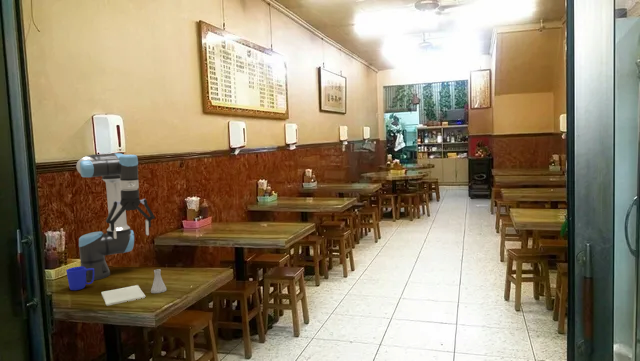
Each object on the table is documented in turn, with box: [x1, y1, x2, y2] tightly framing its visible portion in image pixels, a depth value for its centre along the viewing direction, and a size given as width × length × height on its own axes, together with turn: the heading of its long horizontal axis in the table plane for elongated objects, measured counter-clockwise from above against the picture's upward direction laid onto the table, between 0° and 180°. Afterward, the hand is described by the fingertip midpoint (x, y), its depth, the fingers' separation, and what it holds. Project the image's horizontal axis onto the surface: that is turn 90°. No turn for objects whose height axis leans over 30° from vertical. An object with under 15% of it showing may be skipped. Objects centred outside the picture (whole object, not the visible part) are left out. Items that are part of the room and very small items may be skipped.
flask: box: [150, 268, 168, 294], centre depth 213 cm, size 7×7×10 cm
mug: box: [66, 266, 95, 291], centre depth 224 cm, size 8×12×10 cm
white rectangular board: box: [101, 284, 146, 307], centre depth 209 cm, size 20×16×1 cm
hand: (131, 236), depth 206 cm, fingers open, 13 cm apart
